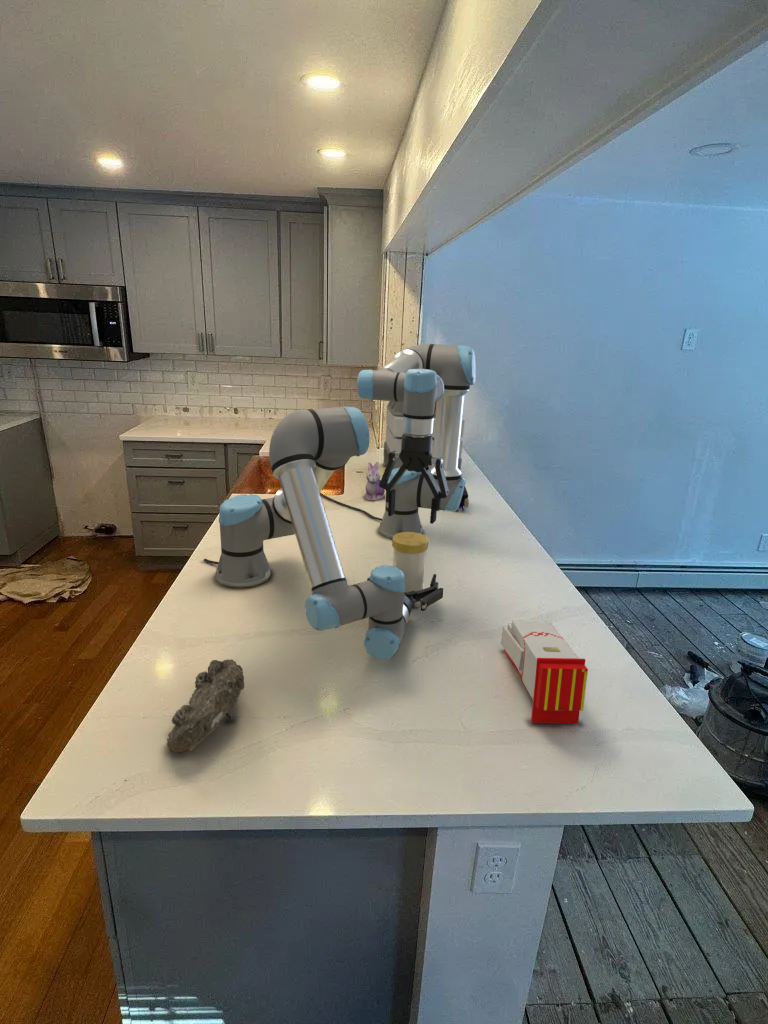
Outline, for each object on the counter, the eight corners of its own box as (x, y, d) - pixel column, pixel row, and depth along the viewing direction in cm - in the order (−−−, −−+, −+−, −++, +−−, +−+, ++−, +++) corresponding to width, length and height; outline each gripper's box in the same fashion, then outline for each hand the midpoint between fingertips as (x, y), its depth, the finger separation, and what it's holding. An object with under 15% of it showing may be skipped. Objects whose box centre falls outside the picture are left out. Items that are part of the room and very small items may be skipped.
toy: (547, 606, 135) (596, 665, 106) (541, 658, 138) (589, 729, 108) (496, 604, 134) (532, 664, 105) (492, 657, 137) (526, 729, 108)
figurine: (369, 502, 230) (370, 466, 225) (359, 494, 239) (360, 460, 234) (390, 499, 234) (391, 464, 229) (378, 492, 243) (380, 458, 238)
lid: (414, 556, 143) (415, 548, 142) (385, 546, 148) (385, 538, 148) (434, 546, 150) (435, 538, 149) (405, 536, 155) (406, 529, 155)
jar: (410, 611, 149) (414, 549, 143) (384, 600, 154) (387, 540, 148) (428, 599, 156) (433, 539, 149) (402, 589, 160) (406, 531, 154)
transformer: (382, 463, 289) (386, 382, 275) (445, 464, 293) (451, 384, 279) (390, 482, 257) (394, 392, 243) (460, 483, 261) (468, 394, 247)
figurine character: (468, 516, 224) (463, 500, 237) (471, 498, 221) (465, 483, 234) (452, 515, 224) (447, 499, 237) (453, 498, 220) (449, 482, 234)
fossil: (192, 660, 117) (244, 628, 112) (224, 691, 120) (276, 661, 115) (142, 746, 98) (202, 712, 93) (182, 779, 101) (242, 748, 96)
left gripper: (343, 618, 139) (365, 581, 159) (444, 634, 135) (454, 593, 154) (344, 591, 137) (366, 556, 156) (447, 606, 132) (456, 568, 151)
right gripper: (467, 437, 138) (459, 521, 146) (379, 426, 146) (376, 506, 154) (458, 443, 132) (451, 530, 139) (367, 431, 140) (364, 514, 147)
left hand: (410, 575), depth 155 cm, fingers open, 13 cm apart
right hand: (411, 518), depth 147 cm, fingers open, 11 cm apart
